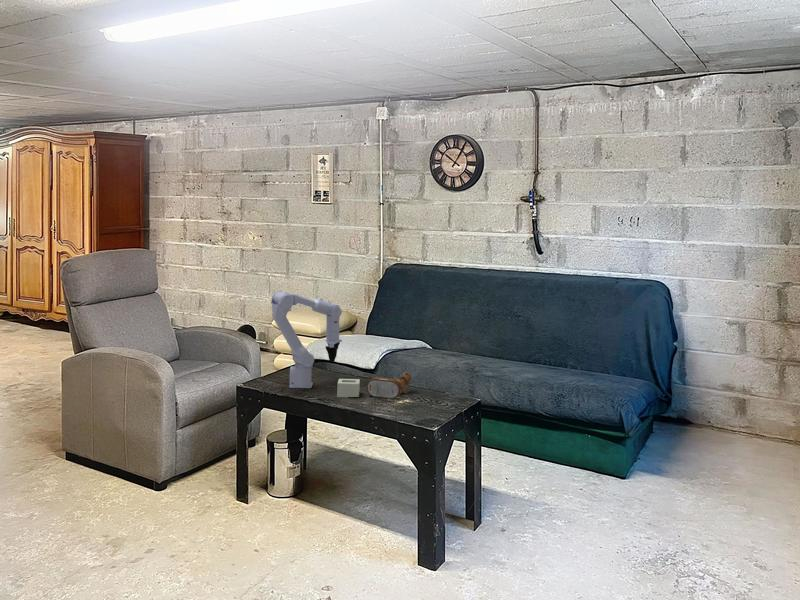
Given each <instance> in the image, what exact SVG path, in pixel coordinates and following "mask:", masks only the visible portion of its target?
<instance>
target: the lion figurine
mask: <svg viewBox="0 0 800 600" xmlns="http://www.w3.org/2000/svg"><path fill="white" fill-rule="evenodd" d="M396 380H397V381H398V382H399V383H400V384H401V387H402V389H403V390H402V391H401V393H403V394H406V395H407V394H408V393H407V387H408V386H409V385H410V384H411V380H412V374H411V373H410V372H409V371H405V372H402V375H401V376H400V378H397V379H396Z"/></svg>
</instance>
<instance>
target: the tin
mask: <svg viewBox="0 0 800 600" xmlns="http://www.w3.org/2000/svg"><path fill="white" fill-rule="evenodd" d="M366 391H367V393H368V394H369V395H370V396H371V397H373V398H378V397H381V398H380V399H387V398H388V400H394V399H396V398H398V397H399V396H400V395H401V393H402V392H401V391H403V387H401V384H400V383H399V382H398V381H397V379H394V378H390V377H388V378H387V377H380V376H375V377H371V378H370V379H369V381H368V382H367V384H366Z"/></svg>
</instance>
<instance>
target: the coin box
mask: <svg viewBox="0 0 800 600" xmlns="http://www.w3.org/2000/svg"><path fill="white" fill-rule="evenodd" d="M360 384H361V380H360V378H339V379H338V381H337V386H336V387H337V388H336V389H337V391H336V393H337V394H336V398H348V397H360V393H359V392H360V387H361V386H360Z"/></svg>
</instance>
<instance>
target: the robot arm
mask: <svg viewBox="0 0 800 600" xmlns="http://www.w3.org/2000/svg"><path fill="white" fill-rule="evenodd" d="M270 303H271V310H272V311H271V313H272V315H271V316H272V319H273V320H274V322H275V324H276V326H277V327H278V329H279V330H280V333H281V334H282V336H283V338H284V339H285V341H286V343H287V344H288V346H289V348H290V353H291V356H292V360H293V363H294V365H293V366H290V368H289V388H290V389H291V388H292V389H311V388H312V386H313V384H314V383H313V382H312V367H313V365H314V362H315V357H314V355H313V354H312V353H310V352H309V350H308V349H307V347H305V346H304V345H303V343H302V341H301V340H300V338H299V336H298V335H297V333H296V331H295V330H294V328H293V326H292V324H291V323H290V321H289V319H288V317H287V315H288V313H289V312H290V311H291V308H292V307H293V306H296V305H298V304H299V305H303V306H307V307H310V308H311V310H312V311H313V312H315V313H318V314H322V315H326V329H325V331H326V339H325V342H326V343H327V345H326V346H325V349H326V352H327V356H328V360H329V363H335V361H336V358H337V356H338V355H337V353H338V349H339V346H340V344H341V343H342V342H343V341H342V339H340V318H341V316H342V313H343V310H342V309H341V307H340V305H338V304H336V303H335V304H334V303H333V302H332V301H326V300H324V298H321V297H319V298H315V299H314V300H313V299H310V298H307V297H305V296H302V295H299V294H295V293H292V292H291V293H290V292H283V291H276V292H274V293H273V294H272V296H271V300H270Z"/></svg>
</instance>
